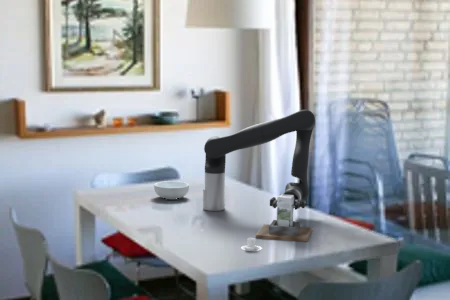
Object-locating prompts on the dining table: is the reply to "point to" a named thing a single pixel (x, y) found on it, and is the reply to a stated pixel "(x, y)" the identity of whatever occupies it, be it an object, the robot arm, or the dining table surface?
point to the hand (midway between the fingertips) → (285, 206)
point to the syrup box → (285, 210)
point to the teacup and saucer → (251, 245)
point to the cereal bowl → (171, 189)
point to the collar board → (284, 232)
